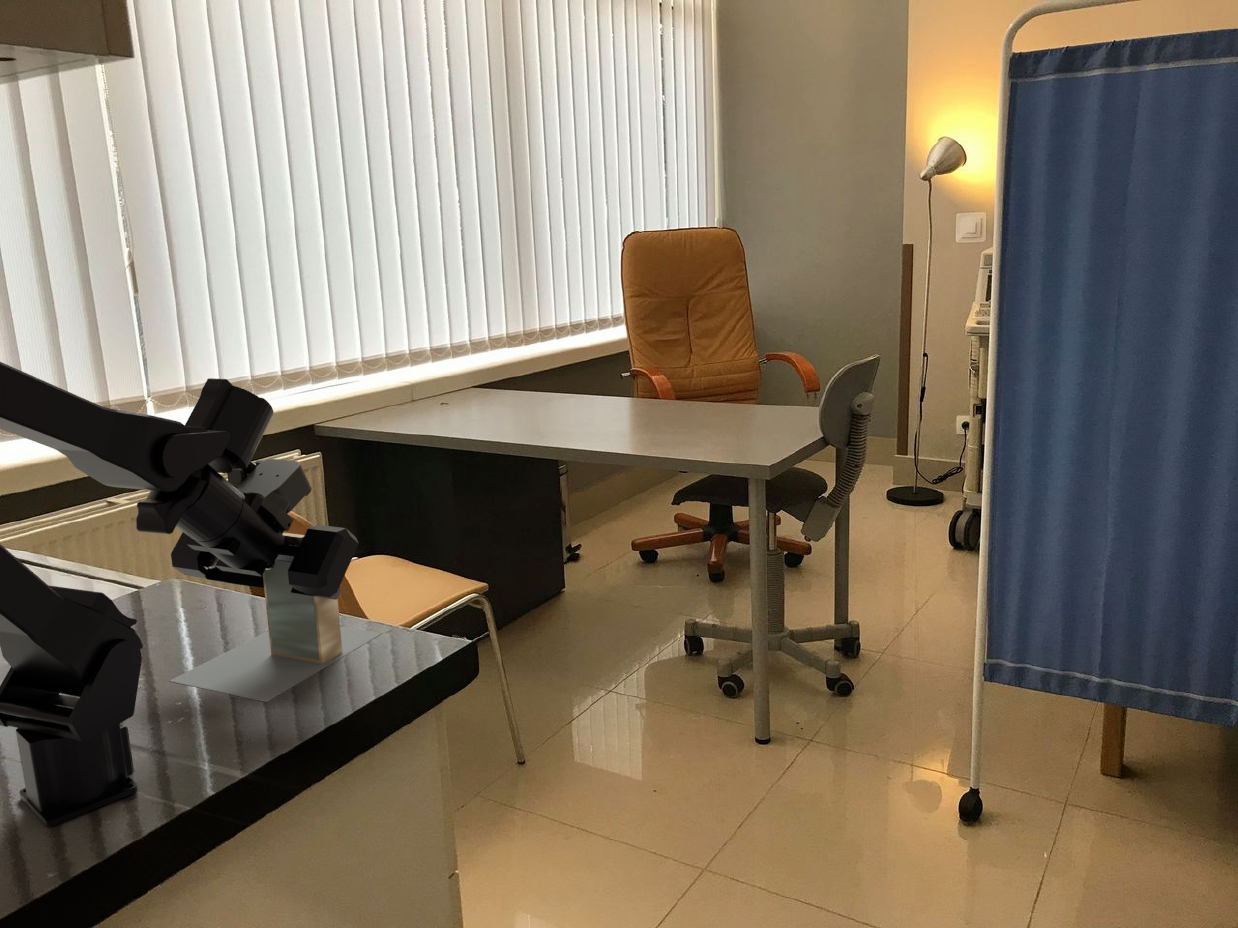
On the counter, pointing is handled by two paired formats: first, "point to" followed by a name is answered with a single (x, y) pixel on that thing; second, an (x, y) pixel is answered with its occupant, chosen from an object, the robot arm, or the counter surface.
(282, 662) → the mat
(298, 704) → the counter surface
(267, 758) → the counter surface
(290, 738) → the counter surface
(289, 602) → the tile
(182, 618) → the counter surface
